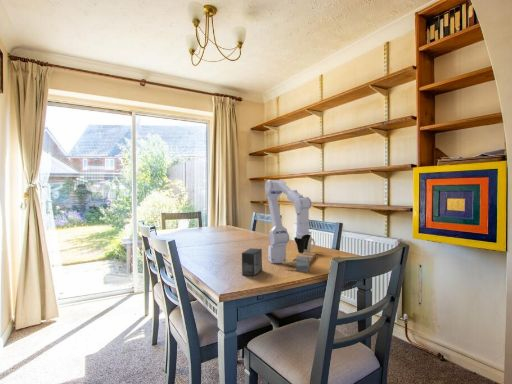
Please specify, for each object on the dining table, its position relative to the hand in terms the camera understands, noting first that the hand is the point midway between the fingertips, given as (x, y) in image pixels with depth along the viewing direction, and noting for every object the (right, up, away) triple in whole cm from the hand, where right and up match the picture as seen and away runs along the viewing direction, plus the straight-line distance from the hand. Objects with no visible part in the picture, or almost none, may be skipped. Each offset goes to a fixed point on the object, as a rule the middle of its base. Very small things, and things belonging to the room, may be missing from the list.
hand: (302, 251), depth 137 cm
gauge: (-3, -9, +2) cm, 10 cm away
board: (+3, -9, +17) cm, 20 cm away
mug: (+9, -9, +37) cm, 40 cm away
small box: (-24, -10, -3) cm, 26 cm away
